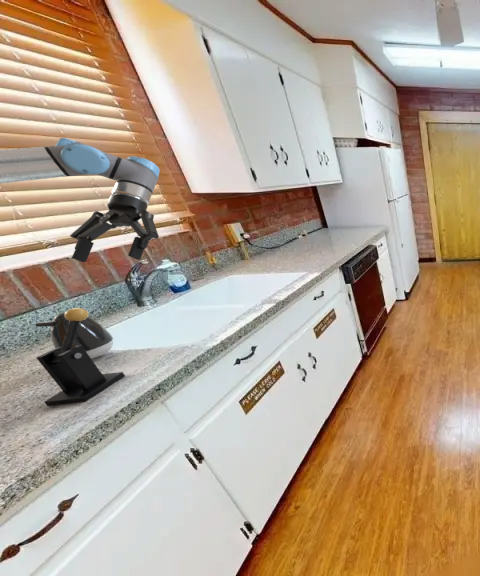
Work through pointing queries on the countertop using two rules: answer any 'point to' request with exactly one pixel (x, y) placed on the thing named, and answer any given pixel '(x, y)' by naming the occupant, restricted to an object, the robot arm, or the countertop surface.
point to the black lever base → (76, 376)
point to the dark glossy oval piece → (81, 335)
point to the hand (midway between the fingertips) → (106, 259)
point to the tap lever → (70, 330)
